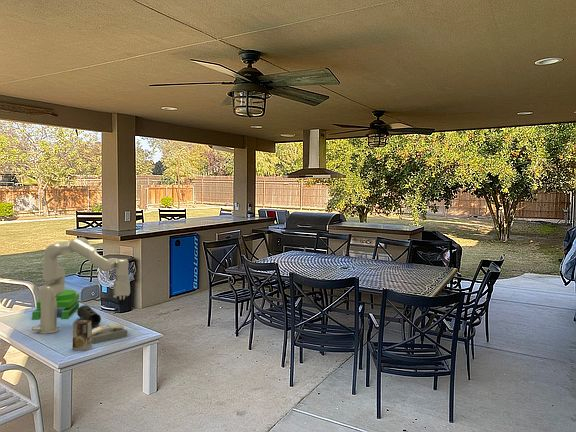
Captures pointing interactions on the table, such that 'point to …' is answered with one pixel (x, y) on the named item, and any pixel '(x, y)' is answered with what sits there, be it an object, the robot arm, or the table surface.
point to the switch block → (109, 335)
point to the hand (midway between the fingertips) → (120, 305)
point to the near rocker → (98, 329)
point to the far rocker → (115, 326)
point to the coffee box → (82, 335)
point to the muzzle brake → (89, 315)
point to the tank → (62, 304)
